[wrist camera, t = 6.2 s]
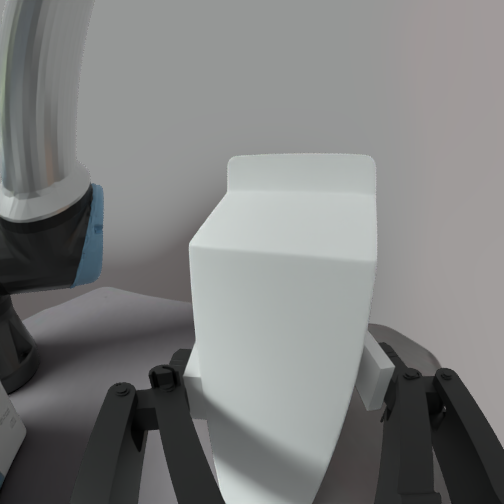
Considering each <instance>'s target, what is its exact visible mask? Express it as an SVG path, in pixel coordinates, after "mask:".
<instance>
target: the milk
mask: <svg viewBox="0 0 504 504" xmlns="http://www.w3.org/2000/svg"><path fill="white" fill-rule="evenodd" d="M227 173H228V174H227V175H228V176H227V181H228V182H227V185H228V186H227V193H226V195H225V196H224V198H223V199H222V200H221V201H220V203H219V204H218V205H217V206H216V208H215V209H214V210H213V212H212V213H211V214H210V216H209V217H208V218H207V220H206V221H205V222H204V224H203V225H202V226H201V228H200V229H199V230H198V232H197V233H196V234H195V236H194V237H193V239H192V240H191V242H190V244H189V259H190V275H191V290H192V303H193V314H194V325H195V335H196V344H197V353H198V362H199V370H200V377H201V381H202V389H203V396H204V403H205V409H206V416H207V424H208V430H209V436H210V442H211V447H212V452H213V458H214V463H215V468H216V472H217V477H218V482H219V486H220V491H221V495H222V497H223V499H224V501H225V503H226V504H312V502H313V500H314V498H315V496H316V494H317V492H318V489H319V487H320V485H321V482H322V480H323V478H324V475H325V473H326V471H327V468H328V466H329V463H330V460H331V458H332V455H333V452H334V450H335V447H336V444H337V441H338V439H339V436H340V433H341V430H342V427H343V424H344V420H345V417H346V414H347V411H348V407H349V404H350V400H351V397H352V393H353V390H354V386H355V382H356V378H357V374H358V370H359V366H360V362H361V357H362V353H363V348H364V343H365V338H366V333H367V328H368V322H369V317H370V310H371V304H372V298H373V290H374V283H375V275H376V266H377V209H376V164H375V162H374V160H373V158H372V157H370V156H368V155H359V154H330V153H328V154H327V153H295V154H294V153H292V154H263V155H244V156H234V157H232V158H231V159H230V160H229V163H228V168H227Z"/></svg>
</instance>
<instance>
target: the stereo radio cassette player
mask: <svg viewBox="0 0 504 504" xmlns="http://www.w3.org/2000/svg"><path fill="white" fill-rule="evenodd" d="M25 435H26V428H25V426H24V424H23V422H22V420H21V419H20V417H19V415H18V413H17V412H16V410H15V408H14V406H13V405H12V403H11V401H10V399H9V397H8V395H7V393H6V391H5V390H4V388H3V386H2V384H1V382H0V488H1V486H2V483H3V481H4V479H5V476H6V474H7V472H8V470H9V468H10V466H11V463H12V461H13V459H14V457H15V455H16V453H17V451H18V449H19V447H20V445H21V443H22V442H23V440H24V437H25Z"/></svg>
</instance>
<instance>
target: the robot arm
mask: <svg viewBox="0 0 504 504" xmlns="http://www.w3.org/2000/svg"><path fill="white" fill-rule="evenodd" d="M94 2H95V0H6V4H5V7H4V12H3V16H2V21H1V26H0V172H1V178H2V182H1V184H0V382H1V384H2V386H3V388H4V390H5V391H6V393H7V394H8V393H10V392H12V391H14V390H16V389H18V388H19V387H21V386H22V385H23V384H25V383H26V382H27V381H28V380H29V379H30V378H31V377H32V376H33V374H34V373H35V372H36V370H37V368H38V365H39V361H40V356H39V353H38V350H37V347H36V344H35V342H34V340H33V338H32V336H31V335H30V333H29V332H28V330H27V329H26V327H25V326H24V324H23V323H22V321H21V319H20V318H19V316H18V315H17V313H16V311H15V310H14V307H13V304H12V301H11V297H10V295H11V294H20V293H29V292H38V291H47V290H56V289H65V288H74V287H75V286H79V285H84V284H88V283H92V282H94V281H96V280H97V279H98V277H99V276H100V273H101V269H102V255H103V231H102V229H103V209H104V208H103V207H104V206H103V205H104V201H103V199H104V198H103V188H102V187H101V186H100V185H96V184H91V182H90V173H89V171H88V169H87V168H86V167H85V166H84V165H83V164H82V163H80V162H78V161H77V160H76V118H77V99H78V89H79V79H80V71H81V63H82V57H83V51H84V45H85V40H86V35H87V30H88V26H89V21H90V17H91V13H92V9H93V6H94ZM149 379H150V383H151V386H152V388H151V389H147V390H136V389H135V387H134V386H133V385H131V384H130V383H125V382H123V383H117V384H114V385H113V386H111V387H110V389H109V390H108V392H107V395H106V397H105V400H104V402H103V405H102V407H101V410H100V412H99V415H98V417H97V420H96V423H95V425H94V428H93V431H92V433H91V436H90V439H89V442H88V445H87V448H86V450H85V453H84V456H83V459H82V462H81V465H80V469H79V472H78V475H77V478H76V482H75V485H74V488H73V492H72V496H71V499H70V503H69V504H138V497H139V489H140V481H141V473H142V466H143V459H144V453H145V447H146V441H147V435H148V430H158V429H159V430H160V435H161V440H162V445H163V449H164V453H165V457H166V461H167V465H168V469H169V473H170V477H171V480H172V484H173V487H174V491H175V494H176V497H177V501H178V504H226V503H225V501H224V499H223V497H222V495H221V492H220V490H219V488H218V486H217V483H216V481H215V479H214V476H213V474H212V472H211V469H210V467H209V464H208V462H207V459H206V457H205V454H204V452H203V449H202V446H201V444H200V441H199V438H198V435H197V433H196V430H195V427H194V424H193V421H192V419H203V420H207V416H206V409H205V403H204V396H203V389H202V381H201V377H200V370H199V362H198V353H197V344H196V342H195V344H194V347H193V350H191V349H179V350H178V351H176V352H175V353H174V354H173V357H172V359H171V361H170V363H169V365H159V366H156V367H154V368H152V369H151V370H150V371H149ZM355 386H356V388H357V390H358V393H359V395H360V397H361V399H362V401H363V403H364V405H365V408H366V410H367V411H371V410H376V409H381V406H382V404H383V401H385V403H386V405H387V406H386V409H385V411H384V414H383V416H382V419H381V421H380V422H383V419H384V429H383V442H382V453H381V462H380V471H379V478H378V485H377V491H376V497H375V502H374V504H441V495H440V493H437V492H434V478H433V453H432V446H433V449H434V451H435V454H436V457H437V459H438V462H439V465H440V468H441V471H442V474H443V477H444V480H445V483H446V486H447V490H448V493H449V496H450V500H451V503H452V504H504V449H503V447H502V446H501V444H500V442H499V440H498V438H497V436H496V435H495V433H494V431H493V429H492V428H491V426H490V424H489V423H488V421H487V419H486V418H485V416H484V414H483V413H482V411H481V410H480V408H479V407H478V405H477V403H476V402H475V400H474V399H473V397H472V396H471V394H470V393H469V391H468V389H467V388H466V387H465V385H464V384H463V382H462V381H461V379H460V378H459V376H458V375H457V374H456V373H455V372H454V371H453V370H451V369H448V368H441V369H438V370H437V371H436V374H435V376H422V374H421V373H420V372H419V371H418V370H416V369H413V368H407V366H406V365H405V364H404V363H403V361H402V360H401V359H400V358H399V356H398V355H397V354H396V352H395V351H394V350H393V349H392V347H391V346H389V345H387V344H386V343H377V341H376V340H375V339H374V337H373V336H372V335H371V334H370V332H369V331H368V330H367V333H366V338H365V343H364V348H363V353H362V357H361V362H360V366H359V370H358V374H357V378H356V382H355ZM444 406H445V407H446V410H445V408H444Z"/></svg>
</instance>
